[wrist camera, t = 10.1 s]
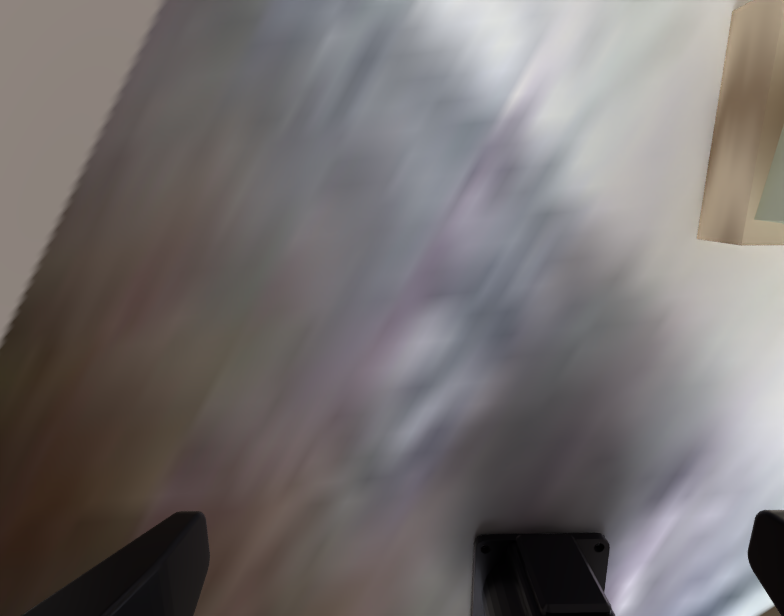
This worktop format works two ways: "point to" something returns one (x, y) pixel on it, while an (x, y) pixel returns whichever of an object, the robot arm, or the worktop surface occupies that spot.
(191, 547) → the robot arm
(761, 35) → the birch base block
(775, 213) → the sage top block
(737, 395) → the worktop surface
